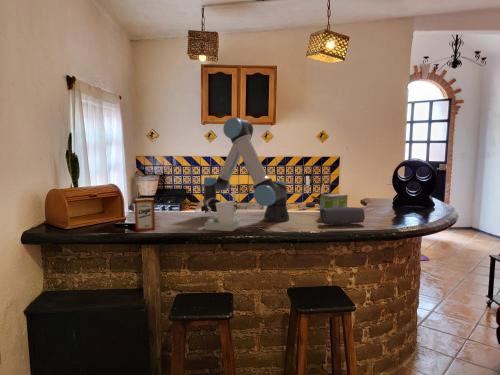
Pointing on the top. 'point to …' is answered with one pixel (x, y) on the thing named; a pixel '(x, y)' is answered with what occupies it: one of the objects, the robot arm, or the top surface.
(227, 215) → the candle holder
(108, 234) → the top surface
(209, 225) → the tray
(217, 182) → the robot arm
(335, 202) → the tea box
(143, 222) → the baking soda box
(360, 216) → the bluetooth speaker
